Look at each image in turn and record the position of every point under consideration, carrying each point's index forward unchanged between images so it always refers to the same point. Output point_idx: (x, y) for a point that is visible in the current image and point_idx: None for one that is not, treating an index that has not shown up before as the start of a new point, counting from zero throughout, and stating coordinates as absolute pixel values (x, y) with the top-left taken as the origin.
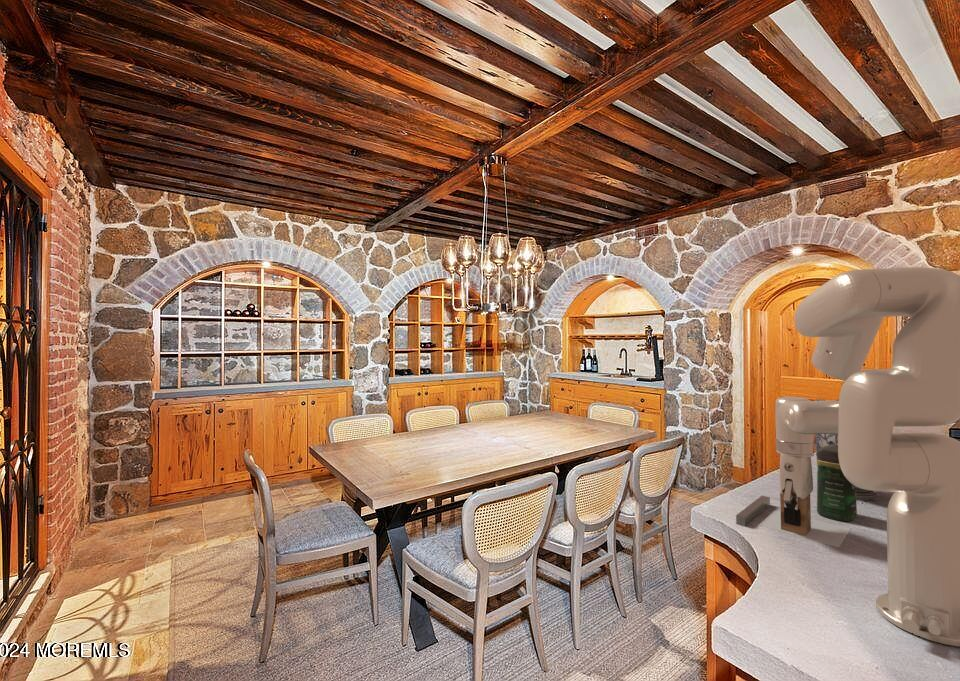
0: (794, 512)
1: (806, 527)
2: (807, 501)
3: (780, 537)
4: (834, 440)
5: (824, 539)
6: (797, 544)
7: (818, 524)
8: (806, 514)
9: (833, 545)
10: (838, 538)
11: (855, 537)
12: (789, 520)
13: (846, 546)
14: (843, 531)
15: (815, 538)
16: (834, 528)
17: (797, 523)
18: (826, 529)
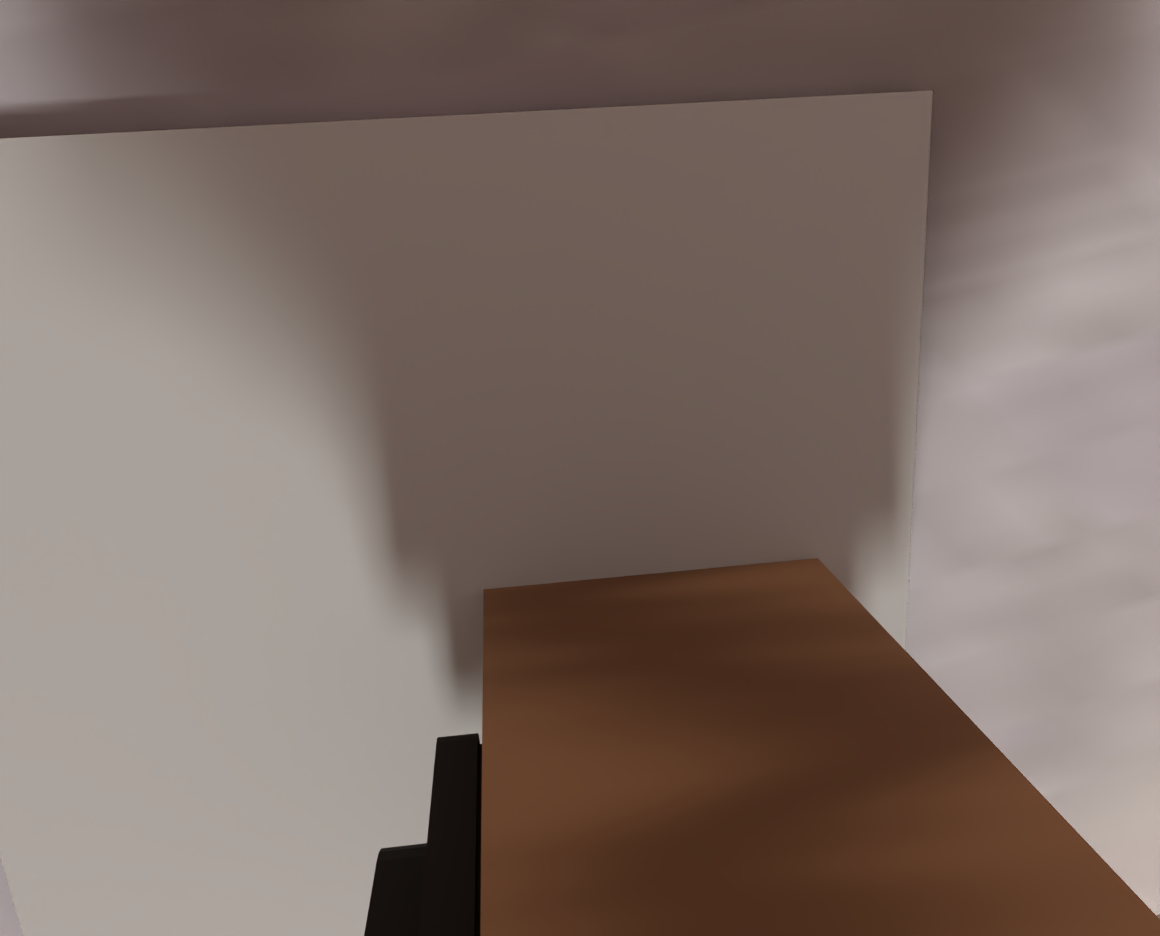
0: None
1: (798, 613)
2: None
3: (1052, 745)
4: None
5: (761, 333)
6: (1148, 538)
7: (138, 584)
8: (884, 749)
9: (914, 171)
10: (535, 190)
11: (163, 3)
12: None
13: (731, 28)
14: (103, 211)
15: (819, 435)
16: (91, 358)
17: None
18: (271, 433)
